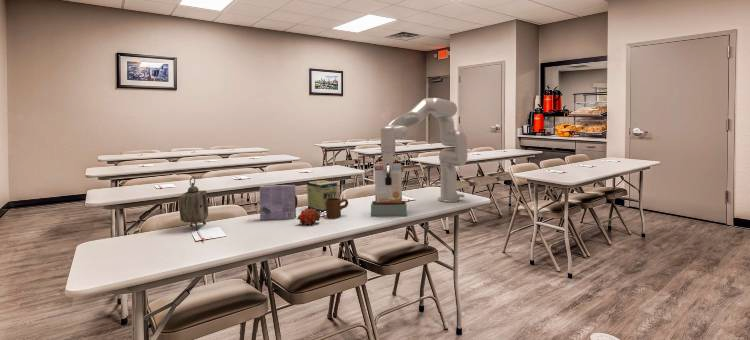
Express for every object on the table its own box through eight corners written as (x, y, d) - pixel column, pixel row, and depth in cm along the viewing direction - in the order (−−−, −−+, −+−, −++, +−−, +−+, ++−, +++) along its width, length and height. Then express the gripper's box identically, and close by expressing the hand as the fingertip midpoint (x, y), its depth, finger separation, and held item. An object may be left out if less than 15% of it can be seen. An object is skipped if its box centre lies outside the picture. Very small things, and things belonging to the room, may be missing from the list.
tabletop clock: (200, 231, 205) (196, 179, 202) (180, 232, 205) (176, 179, 201) (209, 223, 220) (205, 174, 216) (190, 224, 219) (186, 175, 215)
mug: (346, 213, 234) (346, 196, 233) (350, 217, 227) (350, 199, 226) (324, 216, 230) (324, 198, 229) (328, 219, 223) (327, 201, 222)
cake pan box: (298, 216, 231) (296, 183, 228) (298, 218, 226) (296, 185, 223) (261, 218, 227) (259, 185, 225) (260, 221, 223) (258, 187, 220)
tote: (406, 211, 237) (406, 200, 236) (406, 216, 226) (406, 205, 225) (372, 211, 238) (372, 200, 237) (371, 216, 227) (370, 205, 226)
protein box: (323, 213, 237) (322, 185, 235) (307, 208, 249) (306, 181, 246) (338, 210, 244) (337, 182, 242) (322, 205, 255) (321, 179, 253)
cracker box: (402, 201, 233) (401, 162, 230) (401, 203, 227) (401, 164, 224) (376, 201, 235) (375, 162, 232) (375, 203, 229) (374, 164, 226)
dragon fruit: (323, 225, 217) (299, 232, 213) (318, 213, 222) (295, 219, 218) (323, 215, 211) (299, 221, 207) (318, 202, 216) (294, 208, 212)
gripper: (381, 148, 236) (382, 181, 238) (380, 151, 219) (380, 186, 221) (395, 148, 235) (396, 181, 238) (395, 151, 218) (395, 186, 221)
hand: (388, 183), depth 230 cm, fingers closed on cracker box, 6 cm apart
